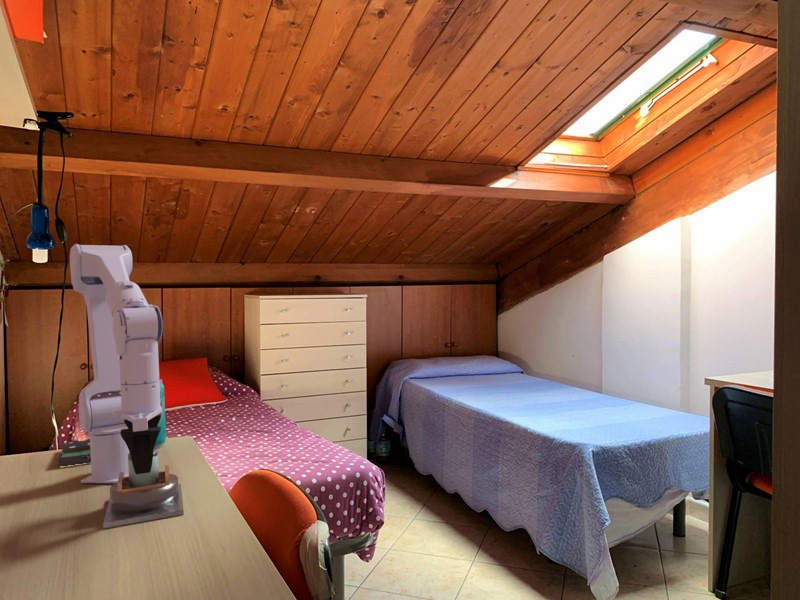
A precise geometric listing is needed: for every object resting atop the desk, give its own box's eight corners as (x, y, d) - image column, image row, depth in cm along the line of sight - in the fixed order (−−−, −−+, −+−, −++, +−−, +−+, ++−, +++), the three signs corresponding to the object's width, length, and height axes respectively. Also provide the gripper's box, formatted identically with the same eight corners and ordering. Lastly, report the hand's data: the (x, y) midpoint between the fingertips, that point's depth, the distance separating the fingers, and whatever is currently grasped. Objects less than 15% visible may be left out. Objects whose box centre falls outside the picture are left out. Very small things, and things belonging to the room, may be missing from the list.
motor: (110, 499, 94) (109, 468, 94) (180, 488, 99) (179, 458, 98) (103, 528, 82) (101, 492, 82) (183, 514, 87) (182, 480, 87)
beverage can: (141, 452, 122) (138, 383, 122) (136, 446, 127) (133, 380, 127) (169, 447, 126) (166, 380, 126) (162, 442, 130) (160, 377, 130)
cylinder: (129, 481, 92) (128, 451, 91) (159, 477, 93) (157, 447, 93) (128, 490, 87) (127, 458, 87) (159, 485, 89) (157, 454, 89)
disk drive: (65, 453, 126) (58, 471, 113) (64, 441, 126) (58, 457, 113) (116, 446, 130) (116, 462, 117) (116, 434, 130) (115, 449, 117)
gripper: (115, 378, 95) (119, 457, 95) (108, 391, 82) (112, 484, 82) (160, 374, 98) (164, 451, 98) (160, 386, 85) (164, 476, 85)
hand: (143, 466), depth 90 cm, fingers open, 7 cm apart
